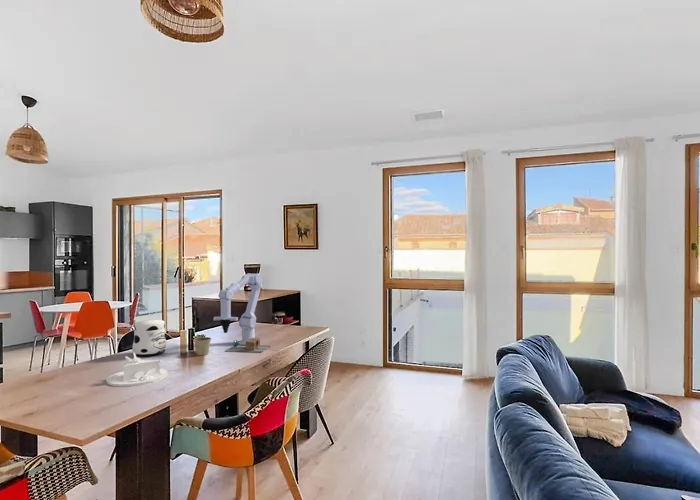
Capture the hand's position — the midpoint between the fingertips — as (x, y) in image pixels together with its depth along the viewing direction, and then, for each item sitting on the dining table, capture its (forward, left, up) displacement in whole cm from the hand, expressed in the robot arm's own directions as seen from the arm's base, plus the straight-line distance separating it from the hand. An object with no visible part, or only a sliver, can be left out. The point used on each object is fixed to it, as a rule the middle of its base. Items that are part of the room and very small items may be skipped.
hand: (225, 332), depth 244 cm
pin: (0, +12, -9) cm, 14 cm away
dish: (+59, -16, -10) cm, 62 cm away
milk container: (+18, -37, -10) cm, 42 cm away
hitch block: (0, +14, -9) cm, 17 cm away
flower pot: (+15, -7, -10) cm, 19 cm away
